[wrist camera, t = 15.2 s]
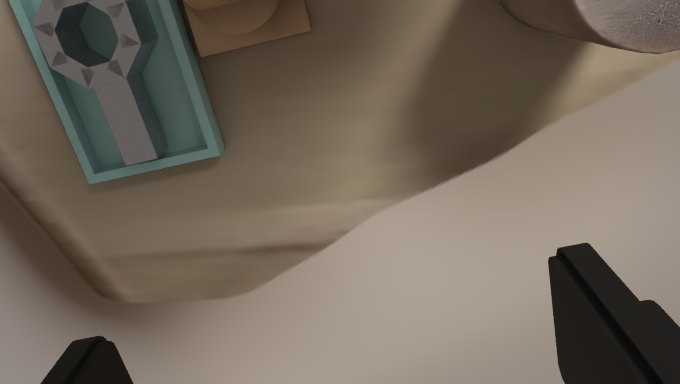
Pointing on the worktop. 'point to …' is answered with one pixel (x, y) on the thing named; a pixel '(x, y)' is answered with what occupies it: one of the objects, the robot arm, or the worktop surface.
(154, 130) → the wrench
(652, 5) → the pillar candle
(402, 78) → the worktop surface
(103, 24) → the tray
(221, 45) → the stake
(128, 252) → the worktop surface
